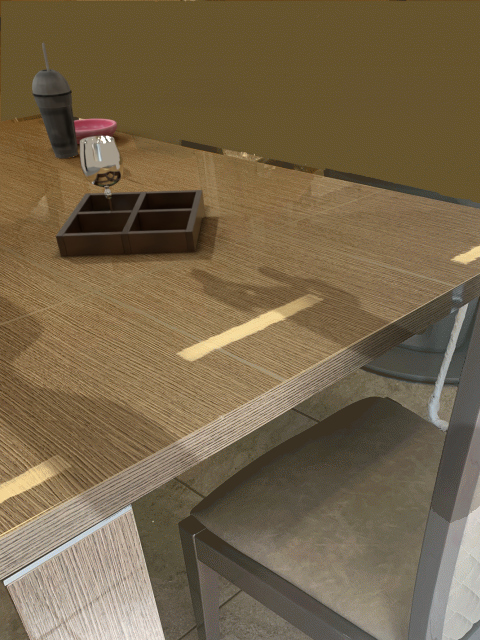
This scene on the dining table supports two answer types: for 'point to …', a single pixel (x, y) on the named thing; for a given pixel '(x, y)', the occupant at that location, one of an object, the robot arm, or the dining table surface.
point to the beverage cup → (56, 110)
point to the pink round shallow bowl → (94, 128)
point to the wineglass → (101, 163)
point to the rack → (133, 224)
